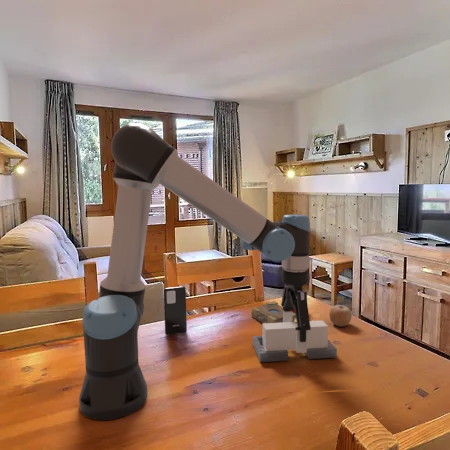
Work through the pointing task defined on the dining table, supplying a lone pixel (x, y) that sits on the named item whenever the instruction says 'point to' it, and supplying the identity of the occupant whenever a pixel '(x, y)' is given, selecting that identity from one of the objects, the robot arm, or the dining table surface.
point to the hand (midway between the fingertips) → (293, 341)
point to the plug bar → (293, 335)
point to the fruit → (340, 315)
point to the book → (269, 313)
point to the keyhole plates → (283, 354)
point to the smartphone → (175, 310)
